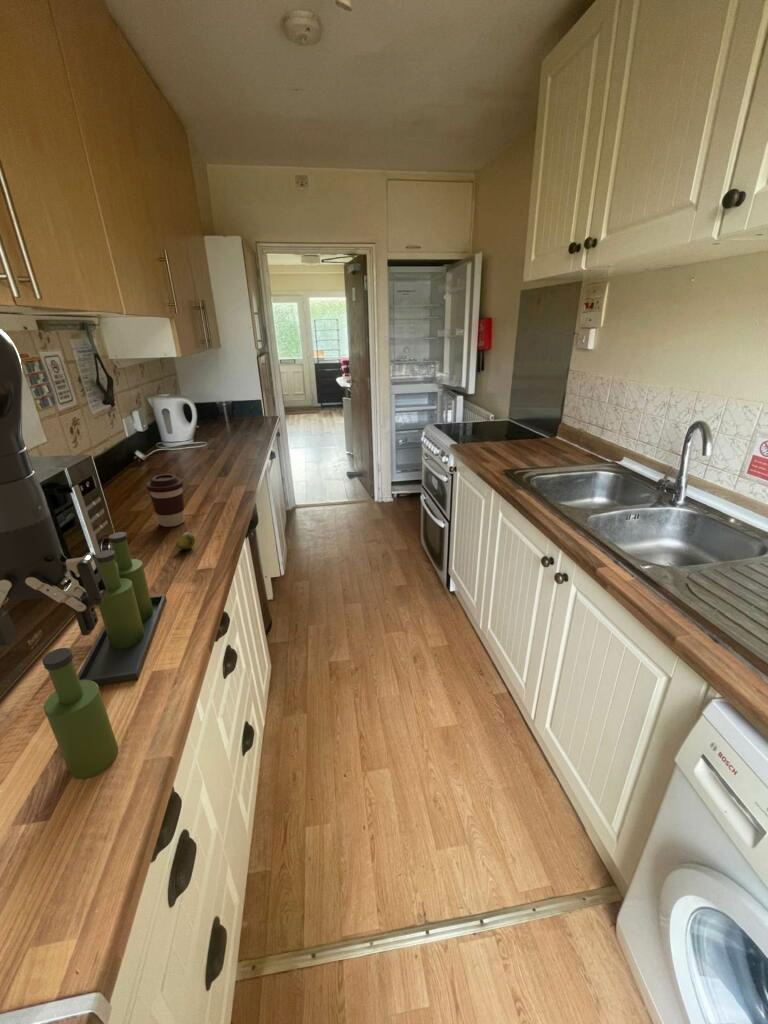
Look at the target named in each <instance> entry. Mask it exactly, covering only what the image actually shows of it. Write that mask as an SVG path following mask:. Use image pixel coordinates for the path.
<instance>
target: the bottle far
mask: <svg viewBox="0 0 768 1024" xmlns="http://www.w3.org/2000/svg"><path fill="white" fill-rule="evenodd" d="M108 540H109V543H111V547H112V550H113V551H114V553H115V562H116V566H117V569H118V573H119V577H120V578H125V579H129V580H131V581H132V585H133V589H134V593H135V597H136V601H137V605H138V609H139V613H140V617H141V621H142V622H143V621H145V620H147V619H148V618H150V617H151V616H152V614H153V612H154V611H153V606H152V602H151V598H150V596H151V595H150V590H149V586H148V582H147V581H148V580H147V577H146V573H145V569H144V564H143V562H142V560H140V559H137V558H136V559H135V558H132V555H131V552H130V548H129V544H128V534H127V532H125V531H118V532H114V533H113V532H112V533H110V535H109V536H108Z"/></svg>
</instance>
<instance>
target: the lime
mask: <svg viewBox="0 0 768 1024" xmlns="http://www.w3.org/2000/svg"><path fill="white" fill-rule="evenodd" d="M195 544H196V537H195V536H194V534H193V533H192V532H189V531H187V532H183V533H182V534H181V535H180V536H179V538H178V539H177V542H176V547H177V548H178V549H179V550H183V551H184V550H185V551H187V550H190V549H191V548H193V547H194V545H195Z"/></svg>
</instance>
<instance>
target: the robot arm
mask: <svg viewBox="0 0 768 1024" xmlns="http://www.w3.org/2000/svg"><path fill="white" fill-rule="evenodd" d="M26 446H27V445H26V443H25V440H24V437H23V366H22V360H21V357H20V354H19V351H18V349H17V347H16V345H15V344H14V342H13V340H12V339H11V338H10V337H9V335H8V334H7V333H6V332H5V331H4V330H3V329H2V328H1V327H0V647H7V646H8V647H9V646H11V645H12V643H13V642H14V641H15V640H16V638H17V635H18V633H17V630H16V628H15V625H14V622H13V620H12V618H11V616H10V613H9V611H8V610H4V608H5V607H6V605H7V603H8V602H9V601H10V600H13V601H14V602H23V601H26V600H29V599H33V600H34V599H36V600H42V599H47V598H48V597H49V598H50V599H52V600H54V601H55V602H57V603H58V604H66V605H67V606H68V607H70V608H72V609H74V610H75V611H74V615H75V618H76V621H77V624H78V627H79V630H80V634H81V636H90V635H91V634H92V633H93V631H94V630H95V628H96V627H97V625H98V622H99V617H98V614H97V611H96V607H95V606H98V605H99V604H100V603H101V602H102V600H103V598H104V597H105V595H106V593H107V592H108V588H107V586H106V583H105V580H104V577H103V575H102V572H101V569H100V566H99V564H98V561H97V558H96V556H95V554H96V553H93V552H86V553H85V554H84V555H83V556H82V557H75V558H67V556H65V555H64V554H63V551H62V549H61V542H60V539H59V536H58V533H57V529H56V527H55V524H54V520H53V517H52V514H51V512H50V508H49V505H48V501H47V499H46V495H45V492H44V490H43V488H42V485H41V483H40V481H39V479H38V478H37V476H36V473H35V470H34V467H33V465H32V461H31V458H30V455H29V452H28V449H27V447H26ZM68 571H71V572H73V573H74V575H75V577H76V578H80V580H81V582H82V585H83V586H81V585H80V582H79V580H77V579H76V578H75V577H73V576H71V575H70V574H68ZM60 585H62V586H63V589H61V588H60V587H59V586H60Z"/></svg>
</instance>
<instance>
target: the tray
mask: <svg viewBox="0 0 768 1024" xmlns="http://www.w3.org/2000/svg"><path fill="white" fill-rule="evenodd" d="M150 598H151V602H152V606H153V611H154V612H153V614H152V616H151V617H150V618H148V619H147V620H145V621H143V622H142V624H143V628H144V632H145V635H144V638H143V639H142V640H141V641H140V642H139V643H137V644H136V645H134V646H131V647H128V648H124V649H115V648H113V647H111V646H110V643H109V640H108V636H107V633H106V629H105V626H104V625H103V627H102V628H101V630H100V632H99V634H98V636H97V638H96V640H95V642H94V644H93V645H92V647H91V649H90V651H89V653H88V655H87V657H86V658H85V660H84V663H83V664H82V666H81V668H80V670H79V672H77V675H78V678H79V681H81V680H90V681H93V682H95V683H96V684H97V685H98V687H101V686H108V685H109V686H110V685H114V684H121V683H129V682H135V681H139V679H140V676H141V673H142V671H143V668H144V666H145V663H146V660H147V657H148V654H149V651H150V649H151V645H152V643H153V640H154V638H155V635H156V631H157V629H158V626H159V623H160V620H161V618H162V615H163V612H164V609H165V607H166V603H167V600H168V599H167V595H166V594H160V595H158V594H157V595H152V596H151V595H150Z"/></svg>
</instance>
